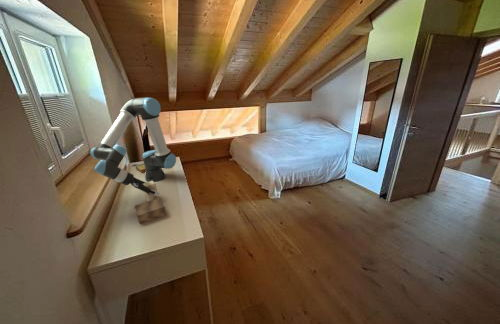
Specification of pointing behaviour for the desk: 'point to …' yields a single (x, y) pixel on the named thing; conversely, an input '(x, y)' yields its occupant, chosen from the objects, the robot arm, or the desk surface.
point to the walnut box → (150, 210)
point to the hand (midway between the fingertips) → (157, 192)
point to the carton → (141, 168)
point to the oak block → (152, 186)
